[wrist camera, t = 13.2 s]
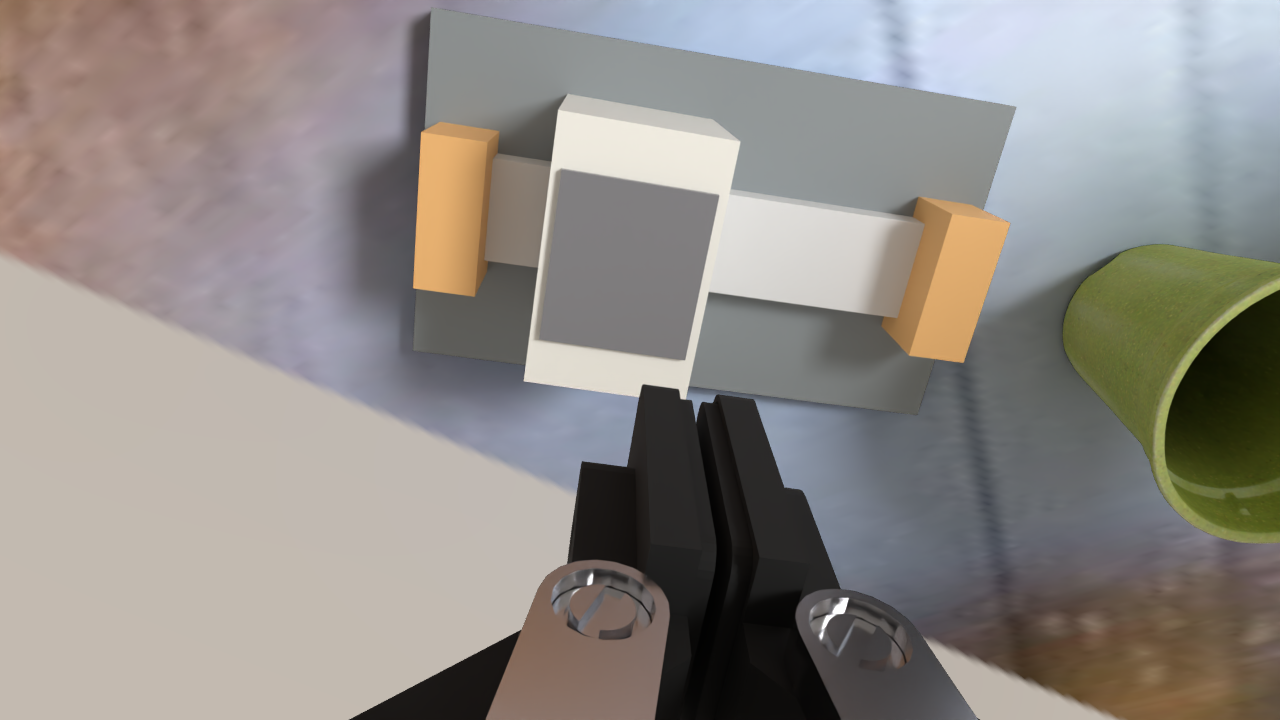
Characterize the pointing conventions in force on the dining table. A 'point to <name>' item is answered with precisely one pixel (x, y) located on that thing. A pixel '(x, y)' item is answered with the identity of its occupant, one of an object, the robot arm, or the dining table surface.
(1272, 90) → the dining table surface
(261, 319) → the dining table surface
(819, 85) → the rail board
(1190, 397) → the plant pot
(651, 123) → the block
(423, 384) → the dining table surface
